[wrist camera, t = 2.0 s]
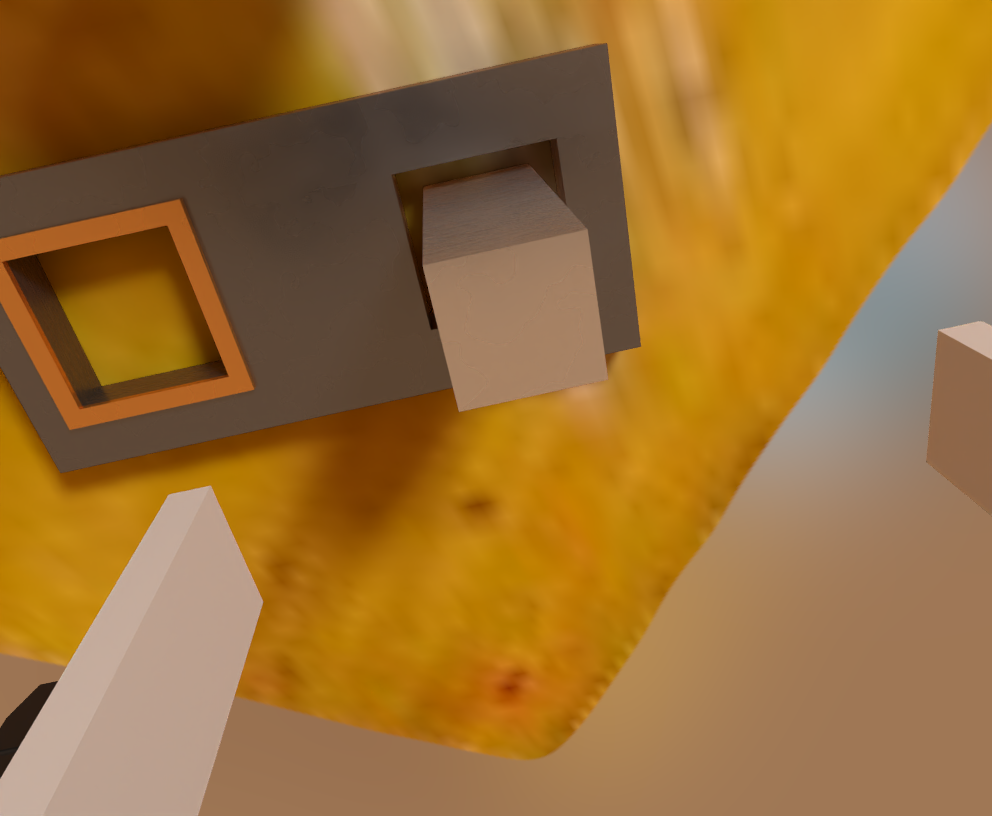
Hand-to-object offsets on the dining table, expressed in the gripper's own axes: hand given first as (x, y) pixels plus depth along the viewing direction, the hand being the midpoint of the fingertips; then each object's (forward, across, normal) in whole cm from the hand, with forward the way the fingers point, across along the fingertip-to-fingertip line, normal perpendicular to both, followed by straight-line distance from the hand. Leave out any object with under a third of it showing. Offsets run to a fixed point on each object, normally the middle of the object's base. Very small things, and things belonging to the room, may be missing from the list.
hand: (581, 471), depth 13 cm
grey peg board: (+19, -8, 0) cm, 21 cm away
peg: (+20, 0, 0) cm, 20 cm away
